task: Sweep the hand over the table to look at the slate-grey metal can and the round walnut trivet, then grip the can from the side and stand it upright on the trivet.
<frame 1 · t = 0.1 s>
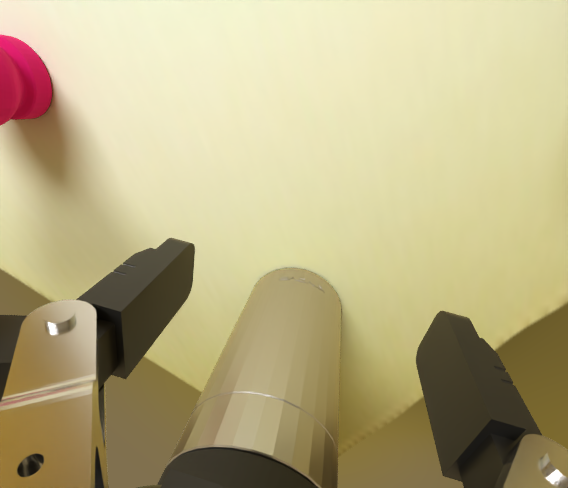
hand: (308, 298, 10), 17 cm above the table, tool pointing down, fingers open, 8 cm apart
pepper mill: (22, 79, 27), on the table
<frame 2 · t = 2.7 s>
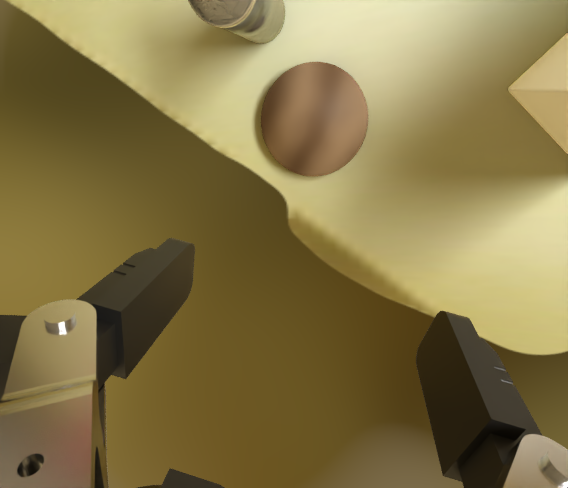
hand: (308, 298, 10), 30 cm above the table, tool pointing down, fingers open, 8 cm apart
grey can: (260, 13, 33), on the table
walnut trivet: (313, 122, 36), on the table
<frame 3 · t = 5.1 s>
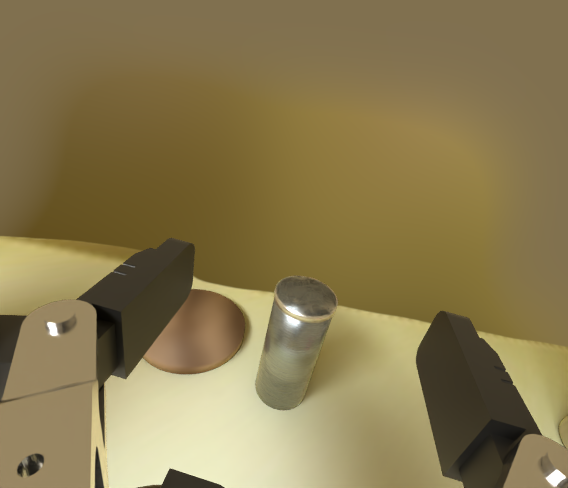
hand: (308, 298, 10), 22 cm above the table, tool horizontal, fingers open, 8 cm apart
grey can: (280, 385, 32), on the table
walnut trivet: (192, 329, 36), on the table
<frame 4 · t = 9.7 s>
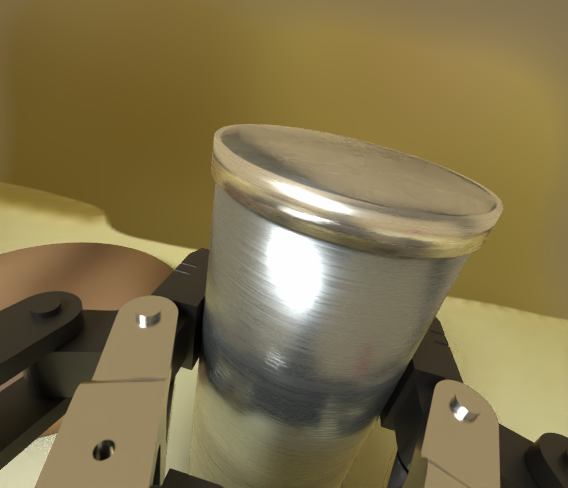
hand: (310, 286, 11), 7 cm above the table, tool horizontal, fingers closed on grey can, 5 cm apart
grey can: (259, 471, 12), on the table, touching gripper
walnut trivet: (63, 322, 16), on the table
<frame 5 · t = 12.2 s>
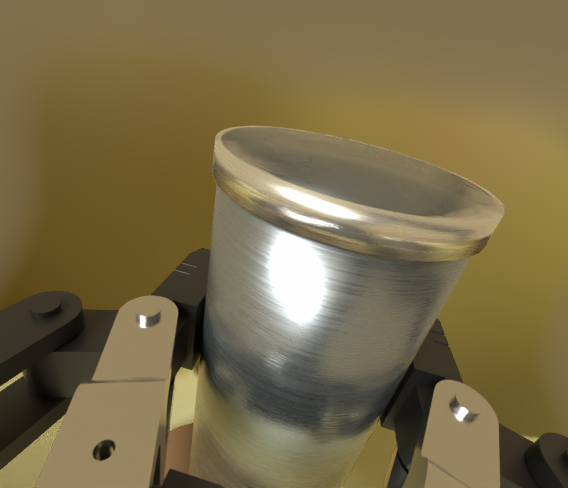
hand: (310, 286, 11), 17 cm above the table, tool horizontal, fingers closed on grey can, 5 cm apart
grey can: (259, 473, 12), point 10 cm above the table, touching gripper
when the fingers open (9 cm above the table, at t = 14.9 s): grey can stays where it is, resting on walnut trivet.
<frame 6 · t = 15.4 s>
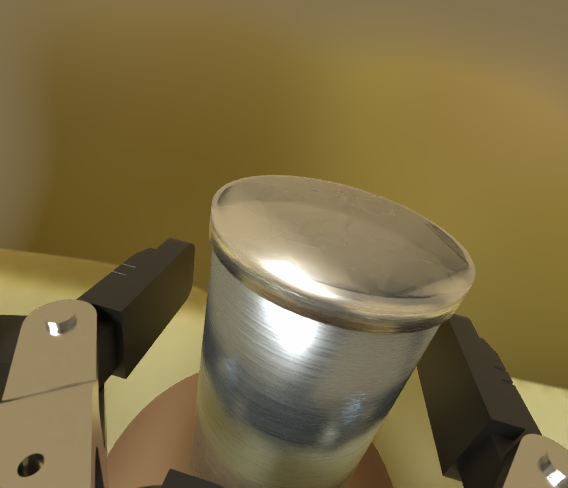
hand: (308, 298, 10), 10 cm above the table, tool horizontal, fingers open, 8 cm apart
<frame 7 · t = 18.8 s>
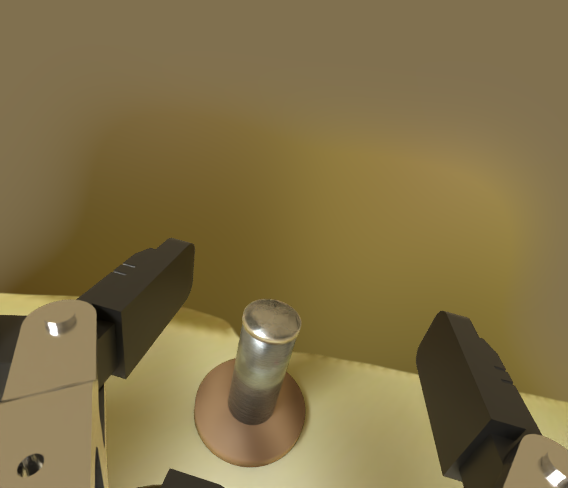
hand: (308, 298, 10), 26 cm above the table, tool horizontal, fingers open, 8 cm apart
grey can: (251, 401, 34), point 1 cm above the table, touching walnut trivet
walnut trivet: (250, 407, 35), on the table
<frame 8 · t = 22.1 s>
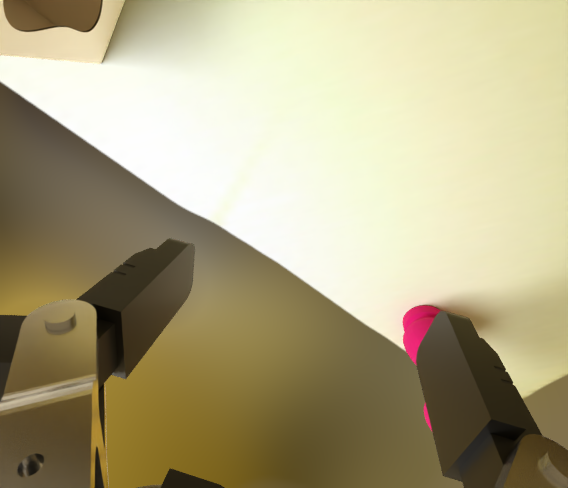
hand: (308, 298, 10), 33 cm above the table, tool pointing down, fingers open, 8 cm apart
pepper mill: (423, 320, 49), on the table
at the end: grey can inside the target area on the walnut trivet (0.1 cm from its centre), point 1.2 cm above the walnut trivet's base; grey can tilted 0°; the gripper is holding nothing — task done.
